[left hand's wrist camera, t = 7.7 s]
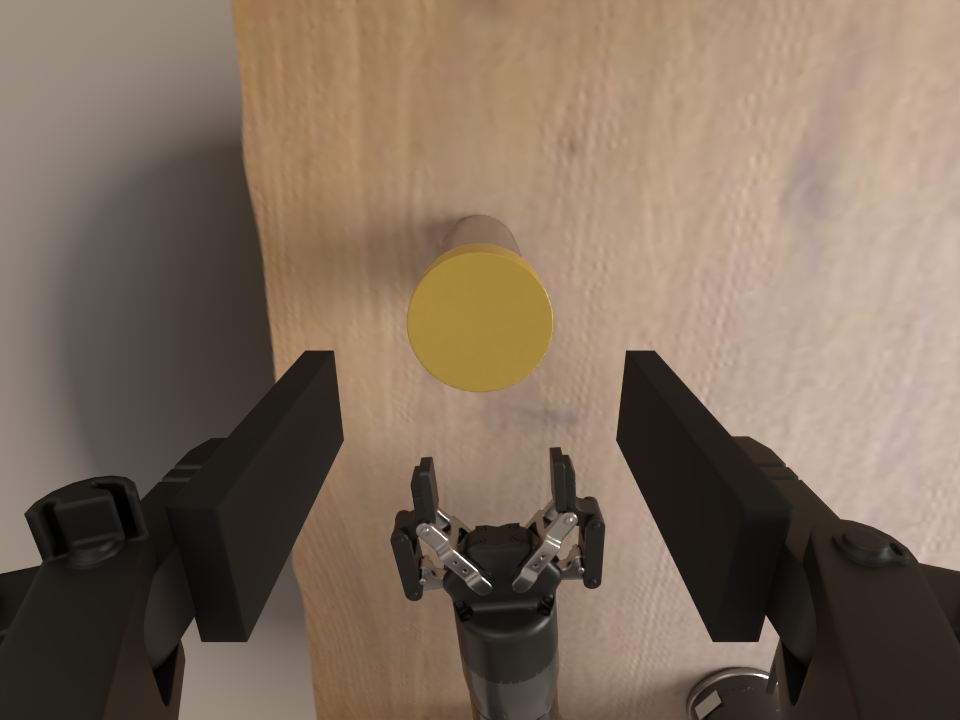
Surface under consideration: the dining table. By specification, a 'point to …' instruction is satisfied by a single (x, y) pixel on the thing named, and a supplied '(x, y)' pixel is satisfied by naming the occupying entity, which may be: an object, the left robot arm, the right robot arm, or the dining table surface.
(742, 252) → the dining table surface
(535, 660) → the right robot arm
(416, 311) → the lid
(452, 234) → the grey tall cylinder
